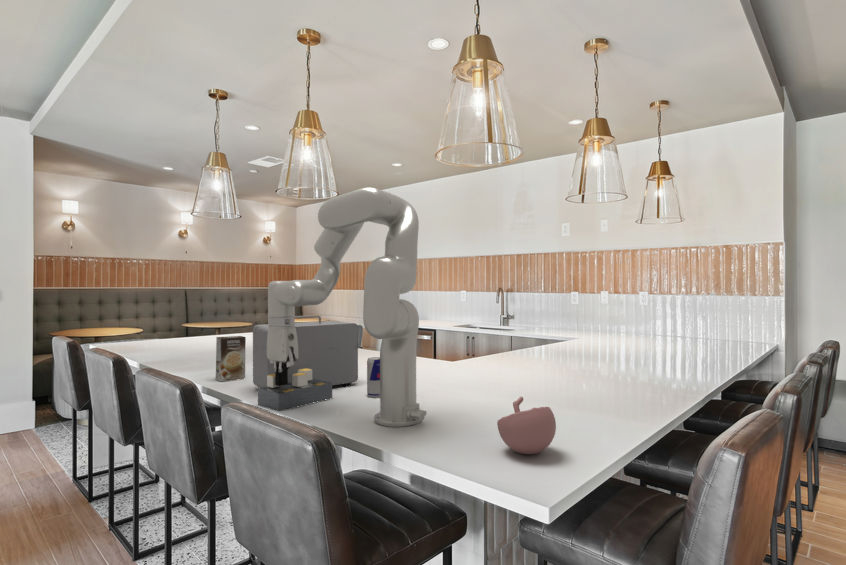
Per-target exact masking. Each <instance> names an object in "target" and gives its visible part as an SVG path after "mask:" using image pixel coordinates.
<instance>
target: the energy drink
mask: <svg viewBox="0 0 846 565" xmlns="http://www.w3.org/2000/svg"><path fill="white" fill-rule="evenodd" d="M366 395H367V397H368V398H373V399H374V398H375V399H376V398H378V397H379V398H380V356H377V357H376V356H373V357H368V358H367V360H366ZM379 398H378V399H379Z"/></svg>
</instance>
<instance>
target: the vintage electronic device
mask: <svg viewBox="0 0 846 565" xmlns="http://www.w3.org/2000/svg"><path fill="white" fill-rule="evenodd" d="M309 318H310V319H312V318H318V321H306V322H305V321H304V322H295V327H294V328H296V332H297V339H298V360H297V361H293V362H294V366H291V367H289V371H288V382H292V375H293V374H297V373H298V370H300V369H306V368H307V369H311V370H312V379H317V380H322V381H327V382H332V386H337V385H343V386H344V385H345V386H344V387H350V386H351V383H356V382H357V381H358V378H359V340H358V339H359V331H358V330H359V328H358V327H359V326H358V324H357V323H352V322H347V321H340V320H323V321H322V317H321V316H320V315H317V314H314V315H295V319H309ZM267 335H268V323H267V324H255V325H253V327H252V383H253V385H255V386H256V387H258V388H261V387H267V376H268V375H271V374H275V371H274V366H273V364H271V363H270V360H269V359H268V358H267ZM349 385H350V386H349Z"/></svg>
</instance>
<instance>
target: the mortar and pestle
mask: <svg viewBox="0 0 846 565" xmlns="http://www.w3.org/2000/svg"><path fill="white" fill-rule="evenodd" d="M523 402H524V397H523V396H519V397H518V399H517V400H514V401H513V402H512V407H513V410H514V411H513V412H514V413H511V414H509V415H505V416H503V417H501V418H500V419H498V420H497V424H496V425H497V430H498V434H499V436H500V438H501V440H502V441H503V443H504V444H505V445H506V447H508V448H509V449H511V450H513V451H514V452H515V453H516V452H517V453H518V454H521V455H534V454H535V455H536V454H539V453H541V452H543V451H544V450H546V449H547V448H548V447H549V446H550V445H551V443H552V442H553V440H554V438H555V435H556V432H557V423H556V417H555V414H554V412H553V410H552V408H551V407H550V406H541V407H532V408H531V409H530V408H529V409H528V410H522V411H521V409H520V406H521V404H522V403H523Z"/></svg>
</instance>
